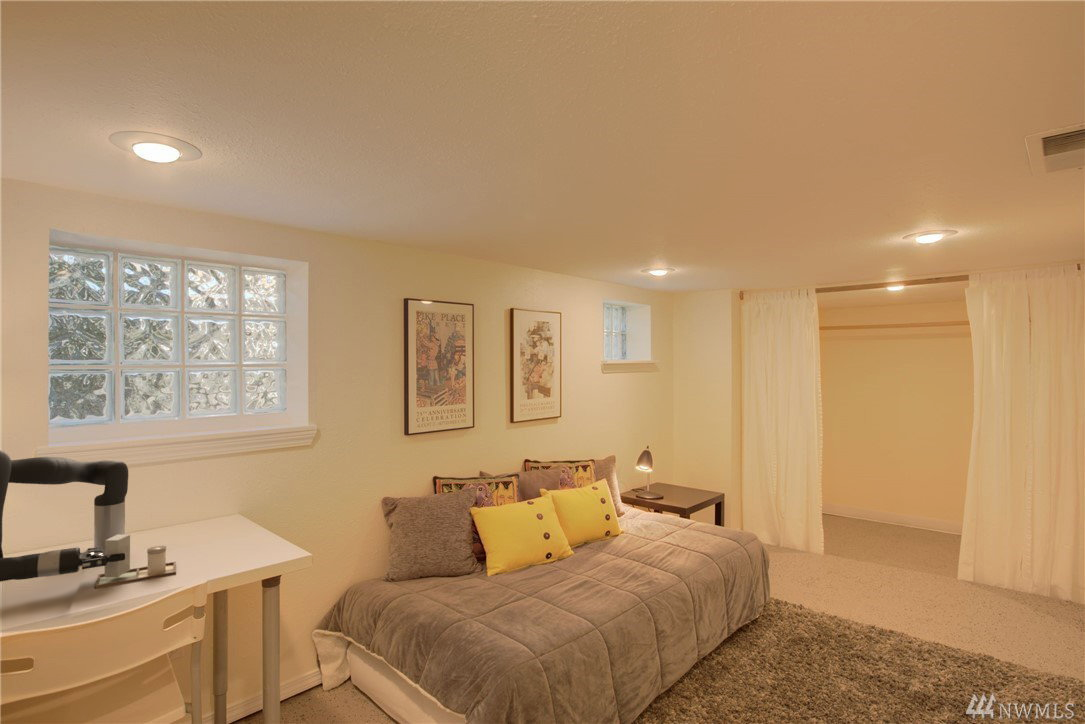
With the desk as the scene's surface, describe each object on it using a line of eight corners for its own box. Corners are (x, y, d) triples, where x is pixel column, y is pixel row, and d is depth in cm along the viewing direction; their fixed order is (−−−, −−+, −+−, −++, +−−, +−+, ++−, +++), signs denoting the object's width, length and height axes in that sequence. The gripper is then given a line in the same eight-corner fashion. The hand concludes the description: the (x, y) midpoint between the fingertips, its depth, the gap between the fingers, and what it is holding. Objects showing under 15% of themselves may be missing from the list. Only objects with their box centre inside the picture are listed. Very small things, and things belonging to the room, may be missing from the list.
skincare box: (116, 570, 182) (117, 534, 182) (130, 570, 183) (130, 534, 183) (103, 577, 176) (104, 540, 176) (117, 577, 177) (118, 540, 177)
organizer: (98, 580, 181) (98, 574, 181) (175, 566, 193) (175, 561, 193) (94, 591, 172) (94, 586, 172) (175, 577, 184) (175, 571, 184)
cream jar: (147, 571, 186) (147, 547, 186) (166, 568, 189) (166, 544, 189) (146, 576, 182) (146, 552, 182) (166, 573, 185) (166, 549, 185)
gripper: (55, 557, 166) (124, 547, 175) (63, 543, 177) (127, 535, 187) (55, 582, 166) (124, 571, 175) (62, 567, 177) (127, 557, 187)
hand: (125, 552), depth 181 cm, fingers closed on skincare box, 7 cm apart
